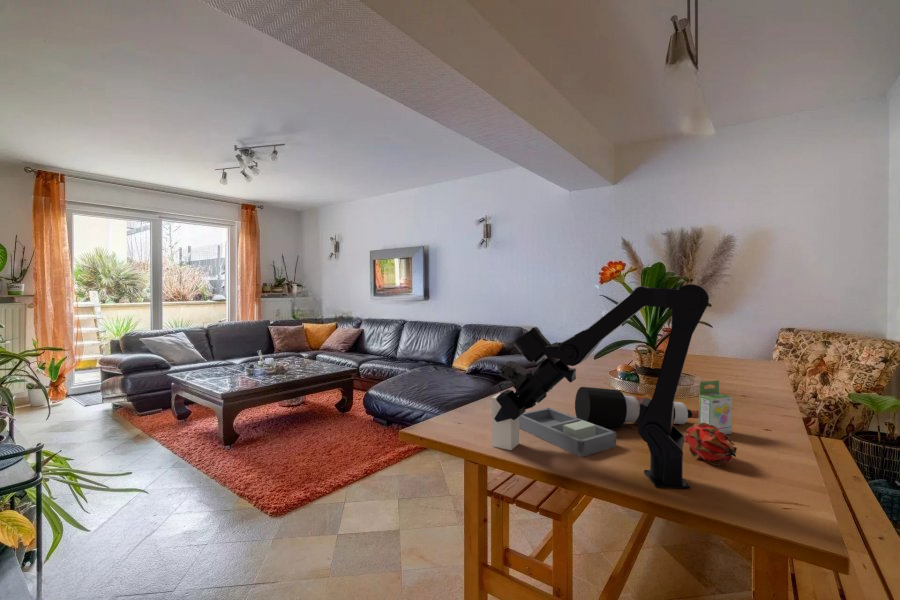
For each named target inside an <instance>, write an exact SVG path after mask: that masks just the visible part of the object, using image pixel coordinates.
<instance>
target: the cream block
mask: <svg viewBox="0 0 900 600" xmlns="http://www.w3.org/2000/svg"><path fill="white" fill-rule="evenodd" d="M501 393H502V392H499V393H497V394H495V395H494V396H492V397H491V447H494V448H498V449H502V450H503V449H504V450H508V451H512V450H514V448H516V447H517V446H518V445H519V444H520V428H519V417H518V418H517V419H515V420H512V419H508V420H504V421H500V422H496V420H495V419H494V418H495V417H496V415H497V413H498V411H499V410H500V408H501V405H500V404H499V403H498V402H497V400H496V397H497V396H499V395H500V394H501Z"/></svg>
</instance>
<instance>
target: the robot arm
mask: <svg viewBox="0 0 900 600" xmlns="http://www.w3.org/2000/svg"><path fill="white" fill-rule="evenodd" d="M709 301H710V295H709V293H708V291H707V290H706V289H705V288H704V287H703V286H701V285H698V284H695V283H691V284H684V285H681V287H680V286H679V288H665V287H649V286H645V285H643V286H637V287H635V288H633V290H632V291H631V292H630V293H629V294H628V295H627V296H626V297H624V298H623V299H621V300H620V301H619V303H617V304H616V305H615V306H613V307H612V308H611V309H610V310H609V311H607V312H606V313H605V314H603V316H601V317H600V318H599V319H598V320H596V321H595V322H594V323H593V324H591V325H590V326H589V327H587V328H585V329H583V330H581V331H580V332H578V333H576V334H574V335H572V336H569V337H568V338H567V339H565V340H563V341H561V342H560V341H559V342H558V341H556V342H553V343H551V342H550V341H549V340H548V339H547V338H546V336H545V335H544V334H543V333H542V331H541V330H540V329H539V328H538V327H537V326H534V327H531V328H530V330H528V331H527V332H525V333H524V334H523V335H521V336H519V337H518V338H517V339H516V340H515V341H514V343H513V345H514V347H515V348H516V349H517V350H518V351H519V353H521V355H522V356H523V357H524V358H525V359H526V361H527V362H528V363H529V364H530V363H531V364H532V363H533V362H534V363H535V364H538V363H539V365H538V366H537V367H535V368H534V369H532V370H531V371H529V370H527V369H526V368H525V367H523V366H522V365H520V364H518V363H517V362H515V361H513V360H509V361H506V362H504V364H503V365H502V367H500V368H499V371H500V373H499V376H500V377H502V378H503V379H506V380H508V381H510V382H511V383H512V384H513V385H512V387H513V389H514V390H515V391H514V390H513V389H512V390H511V389H506V390H504V391H502V392H500V393H501V394H500V395H499V396H497V397H496V400H497V402H498V403H499V404H500V405H501V408H500V410H499V411H498V413H497V415H496V417H495V418H494V419H495V420H496V422H500V421H504V420H508V419H512V420H515V419H517V418H518V417H519V416H521V415H522V414H523V413H525V412H526V411H527V410H528V409H531V408H533V407H535V406H536V405H537V404H540V403H541V402H543V400H545V398H546V397H547V394H548V393H549V392H551V390H552V389H554V387H555V386H557V385H558V384H559V383H560V382H561V381H562V380H563V379H564V378H565V379H566V380H567V382H569V383H572V382H575V380H577V373H576V372H577V369H576V368H572V367H575V366H577V365H579V364H581V363H583V362H584V361H586V360H587V359H588V358H589V357H590V355H592V353H593V352H594V351H595V350H596V348H597V347H598V346H599V345H600V344H601V343H602V341H604V339H606V337H608V336H610V334H611V333H613V332H614V331H616V330H617V329H618V328H619V327H621V325H623V324H624V323H626V322H627V321H628V320H629V319H631V318H632V317H633V316H634V315H636V314H637V313H638V312H640V311H641V310H642V309H644V308H645V307H656V308H663V309H664V308H665V309H671V330H670V335H669V337H668V341H667V344H666V348H665V352H664V356H663V359H662V362H661V367H660V371H659V375H658V377H657V381H656V384H655V388H654V392H653V395H652V397H651V398H650V399H651V400H649V399H647V398H648V397H646V398H645V396H643V397H644V399H643V401H642V402H641V404H640V411H639V416H638V418H637V420H636V421H635V424H637V433H638V435H639V437H640V438H641V440H642V441H644V442H645V443H646V445H647V447H648V449H649V452H650V461H649V463H650V464H649V465H650V468H649V469H643V474H644V475H645V477H646V478H647V479H648V480H649V481H650V482H651V483H652V484H653V486H654V487H656V488H669V489H670V488H671V489H672V488H673V489H691V485H690V483H688V482H687V480H685V478H684V477H683V474H684V470H683V468H684V467H683V465H684V452H683V448H684V443H685V442H684V438H685V437H684V436H685V434H683V433H682V432H681V431H680V430H679V428H677V427H676V426H675V424H673V417H674V402H675V397H676V393H677V389H678V387H679V383H680V380H681V379H680V378H681V376H682V372H683V369H684V366H685V362H686V358H687V355H688V352H689V351H688V350H689V349H690V343H691V340H692V337H693V335H694V332H695V330H696V328H697V326H698V325H699V322H700V321H701V319H702V317H703V315H704V313H705V311H706V309H707V307H708V305H709ZM545 358H546V359H545ZM543 359H544V360H543ZM542 360H543V361H542ZM541 361H542V362H541ZM540 362H541V363H540Z"/></svg>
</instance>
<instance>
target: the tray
mask: <svg viewBox="0 0 900 600" xmlns="http://www.w3.org/2000/svg"><path fill="white" fill-rule="evenodd" d="M519 430H522V431H525V432H526V433H529V434H530V435H533V436H535V437H538V438H539V439H541V440H544V441H545V442H547V443H550V444H553V445H554V446H556V447H558V448H561V449H562V450H565V451H567V452H569V453H572V454H573V455H576V456H578V457H579V458H583V457H586V456H589V455H592V454H595V453H596V454H597V453H598V452H603V451H606V450H609V449H612V448H616V447H617V432H616V431H614V430H611V429H608V428H606V427H604V426H598V425H595V424H592V423H590V422H587V421H584V420H582V419H579V418H577V417H575V416H573V415H570V414H567V413H564V412H562V411H559V410H556V409H555V408H551V407H546V408H541V409H535V410H531V411H525V412H524V413H523V414H522V415H521V416H519Z"/></svg>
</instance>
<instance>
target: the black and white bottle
mask: <svg viewBox="0 0 900 600" xmlns="http://www.w3.org/2000/svg"><path fill="white" fill-rule="evenodd" d="M644 397H645V396H643V397H642V396H634V395H626V394H624V393H623V392H622V391H621V390H619V389H612V388H603V387H602V388H601V387H588V386H580V387H579V388H578V389H577V391H576V394H575V398H574V399H575V400H574V410H575V411H574V412H575V415H576V418H579V419H582V420H584V421H587V422H590V423H592V424H595V425H598V426H601V427H610V428H621V427H622V426H623V425H624V424H626V423H633V424H635V421H636V420H637V418H638V416H639V411H640V404H641V402H642V401H643V399H644ZM645 398H647V399H649V400H651V399H652V398H649V397H647V396H646V397H645ZM688 419H698V420H699V409H698V410H696V409H695V410H694V409H693V410H691V409H688V407H687V406H686V404H685V403H684V402H682V401H681V402H680V401H674V417H673V425H684V424H685V423H687V421H688Z"/></svg>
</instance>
